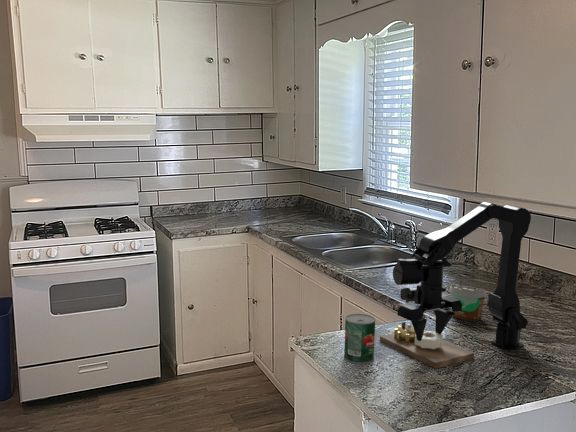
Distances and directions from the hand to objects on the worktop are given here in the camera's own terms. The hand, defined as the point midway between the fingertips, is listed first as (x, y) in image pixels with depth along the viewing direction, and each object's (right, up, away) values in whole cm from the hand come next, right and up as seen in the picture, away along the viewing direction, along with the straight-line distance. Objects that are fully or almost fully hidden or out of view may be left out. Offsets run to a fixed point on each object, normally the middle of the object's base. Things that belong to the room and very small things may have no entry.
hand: (428, 338), depth 162 cm
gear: (-4, -1, +7) cm, 8 cm away
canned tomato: (-19, -5, -4) cm, 20 cm away
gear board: (0, -4, +3) cm, 5 cm away
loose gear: (0, -2, 0) cm, 2 cm away
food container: (+18, 0, +30) cm, 35 cm away
